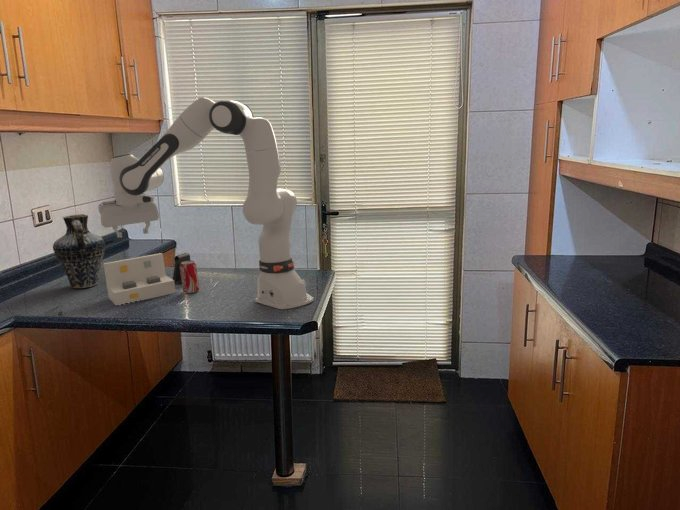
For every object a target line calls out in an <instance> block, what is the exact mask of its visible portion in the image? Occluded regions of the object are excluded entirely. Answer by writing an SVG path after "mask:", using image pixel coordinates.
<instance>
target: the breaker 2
mask: <svg viewBox="0 0 680 510" xmlns="http://www.w3.org/2000/svg"><path fill="white" fill-rule="evenodd" d="M157 282H160V278H159V277H158V276H153V277H149V278H147V283H148V284H153V283H157Z"/></svg>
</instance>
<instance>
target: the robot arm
mask: <svg viewBox="0 0 680 510" xmlns="http://www.w3.org/2000/svg"><path fill="white" fill-rule="evenodd" d="M213 130H216V131H218V132H220V133H223V134H225V135H233V136H240V137H241V139H242V141H243V144H244V148H245V149H244V151H245V157H246V163H247V169H248V189H247V190H248V191H247V195H246V199H245V200H244V203H243V205H242V214H243V217H244V219H245V220H246V221H247V222H248V223H250V224H252V225H258V226H259V225H260V226H261V225H262V229H261V232H260V234H259V236H258V240H257V241H258V253H259V254H258V255H259V260H258V267H259V271H260V273H259V276H258V277H257V297H255V299H254V302H255V303H259V304H261V305H265V306H267V307H270V308H275V309H278V310H287V309H294V308H297V307H298V308H299V307H302V306H305V305H308V304H310V303H313V301H314V300H315V299H314V297H313V296H312V295H311V294H309V293H307V289H306V288H307V287H306V280H305V279H302V278H301V277H300V276H299V274H298V273H297V272H296V270H295V262H294V261H293V259H292V258H293V257H291V245H290V243H291V242H290V233H291V226H292V220H293V217H294V216H293V215H294V212H295V210H296V208H297V205H298V202H297V200H298V199H297V197H296V195H295V194H294V192H293V191H291V190H290V189H286V188H282V187H281V188H280V187H279V188H278V180H279V177H280V175H281V172H282V168H281V162H280V156H279V155H280V154H279V149H278V144H277V140H276V139H277V138H276V135H275V132H274V129H273V125H272V124H271V122H270V121H269V120H268V119H267V118H264V117H260V116H259V117H255V114H254V112H253V110H252V108H251V107H250V106H248V105H247V104H245V103H241V102H239V101H236V100H228V99H223V100H218V101H216V102H215V101H213V100H212V99H211V98H208V97H199V98H197V99H196V100H194V101H193V102H192V103H191V104H190V105H189V106H187V107H186V108H185V109H184V110H183V111H182V112H181V113H180V114H179V116H178V117H177V118H176V119H175V120H174V122H173V123H172V124H171V125H170V127H169V128H168V129H167V130H166V132H165V133H164V134H163V135H162V136H161V137H160V139H159V140H158V141H157V142H156V143H155V144H153V146H151V148H150V149H149V150H148V151H147V152H146V153H145V154H144V155H143V156H141V158H138V157H136V156H134V155H133V154H132V153H125V154H119V155H115V156H113V158H112V159H111V160H110V175H111V177H110V178H111V181H112V184H113V196H114V200H109V201H102V202H101V203H100V204H99V205H98V212H99V214H100V223H101V226H102V227H104V228H112V229H113V231H114V232H115V233H116V237H117V238H118V239H120V238H123V233H122V231H121V232H120V231H118V228H119V227H120V226H121V227H122V226H127V225H132V224H139V223H142V224H143V223H144V224H145V227H143V228H142V234H144V235H146V234H149V228H150V226H151V222H155V221H158V220H159V218H160V213H159V208H158V206H157V204H156V203H155V202H154V201H155V198H154V196H152V195H150V194H148V193H146V192H149V191H152V190H155V189H157V188H158V187H160V186H161V185H162V184H163V183H164V171H163V170H162V168H161V167H162V166H163V165H164V164H165V163H166V162H167V161H168V160H170V159H171V158H173V157H174V156H177V155H179V154H181V153H184V152H187V151H190V150H192V149H193V148H195V147H197V146H198V145H199V144H200V143H202V141H204V139H205V138H206V137H207V136H208V135H210V132H212V131H213Z"/></svg>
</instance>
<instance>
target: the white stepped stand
mask: <svg viewBox="0 0 680 510" xmlns="http://www.w3.org/2000/svg"><path fill="white" fill-rule="evenodd" d="M164 258H165V257H164V254H163V252H161V253H160V252H159V253H154V254H149V255H143V256H137V257H131V258H126V259H120V260H115V261H109V262H104V263H103V262H102V265H103V271H104V276H105V283H106V290H107V295H108V299H109V300H110V301H111V302H112V303H113V304H114V305H115V306H116V305H119V306H122V305H121V304H123V305H126V304H125V303H128V304H131V303H130V302H132V303H136V302H135V301H137V302H141V301H145V299H146V300H151V299H154V298H159V297H162V296H166V295H172V294H175V293H176V292H177V291H176V284H175V283H174V280H173V278H171V277H170V276H168V275H167V274H166V268H165V267H166V266H165V259H164ZM153 276H158V277H159V278H160V282H157V283H153V284H148V283H147V278H149V277H153ZM129 281H134V282H136V286H137V287H133V288H129V289H124V288H123V285H122V283H124V282H129ZM140 300H141V301H140Z"/></svg>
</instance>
